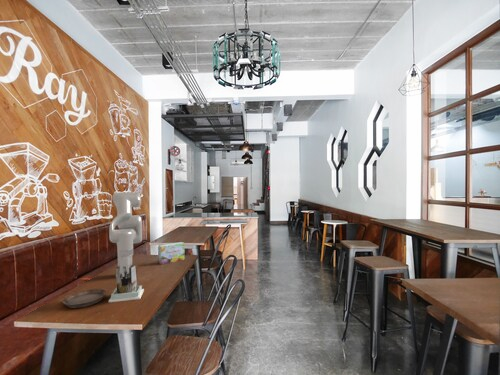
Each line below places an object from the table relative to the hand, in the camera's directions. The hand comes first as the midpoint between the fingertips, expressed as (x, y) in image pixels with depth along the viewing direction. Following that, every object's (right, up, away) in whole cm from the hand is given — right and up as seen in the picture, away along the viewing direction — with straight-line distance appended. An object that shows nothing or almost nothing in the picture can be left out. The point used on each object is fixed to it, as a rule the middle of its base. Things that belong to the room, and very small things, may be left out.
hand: (126, 282), depth 154 cm
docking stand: (0, -8, 0) cm, 8 cm away
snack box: (+5, -8, +72) cm, 72 cm away
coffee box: (0, -7, 0) cm, 7 cm away
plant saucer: (-20, -9, -6) cm, 23 cm away
